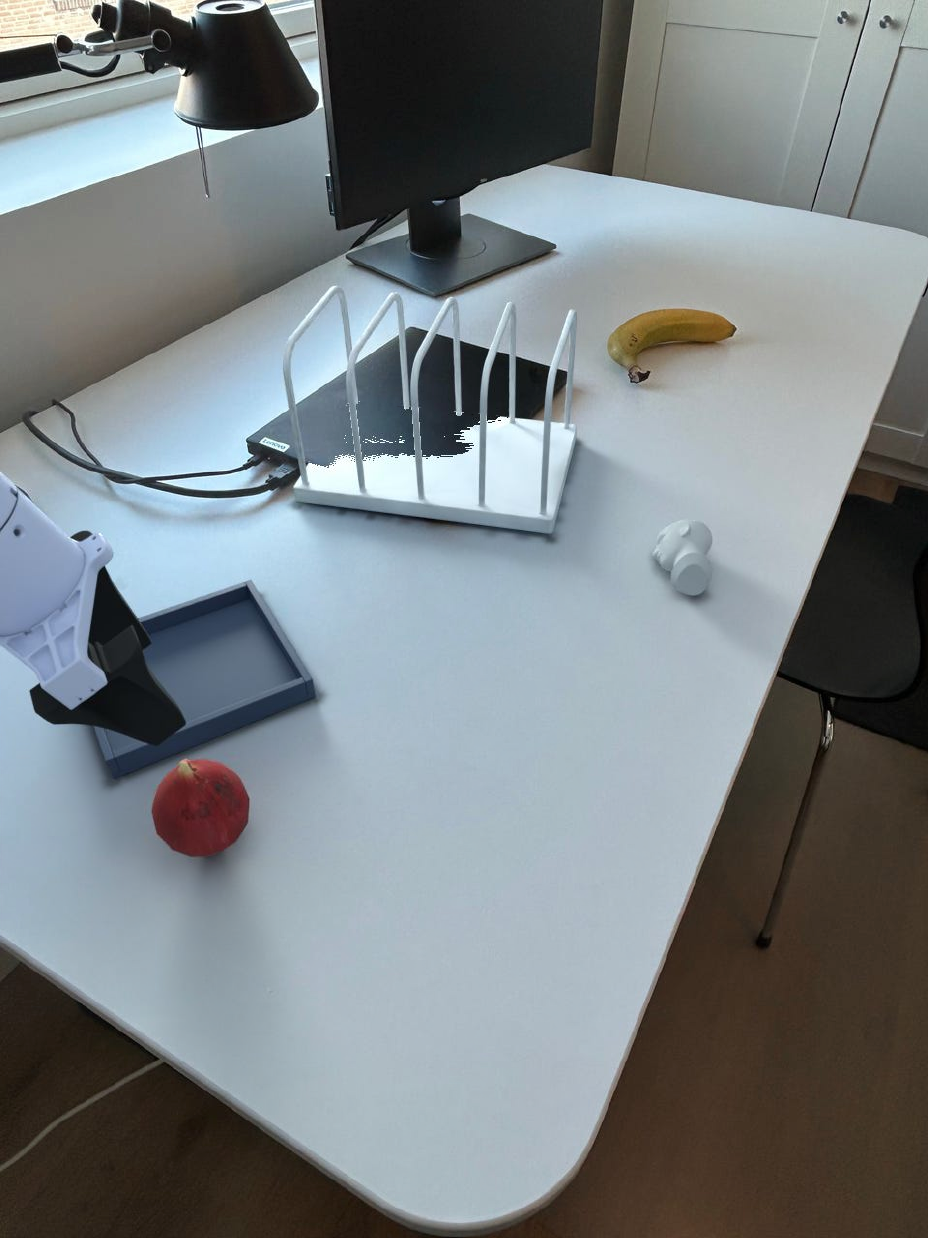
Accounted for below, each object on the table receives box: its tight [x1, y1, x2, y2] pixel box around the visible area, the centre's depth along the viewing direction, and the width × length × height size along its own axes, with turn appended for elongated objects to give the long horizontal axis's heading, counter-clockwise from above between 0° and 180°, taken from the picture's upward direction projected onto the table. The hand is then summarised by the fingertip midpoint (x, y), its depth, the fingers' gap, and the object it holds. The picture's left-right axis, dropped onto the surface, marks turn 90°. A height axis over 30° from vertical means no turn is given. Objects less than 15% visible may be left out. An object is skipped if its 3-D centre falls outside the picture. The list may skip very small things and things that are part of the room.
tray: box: [92, 579, 317, 779], centre depth 67 cm, size 15×13×2 cm
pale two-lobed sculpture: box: [652, 518, 713, 596], centre depth 76 cm, size 4×8×5 cm
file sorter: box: [282, 285, 578, 534], centre depth 83 cm, size 25×17×16 cm
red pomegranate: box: [150, 758, 251, 858], centre depth 55 cm, size 6×6×8 cm
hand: (152, 689), depth 49 cm, fingers open, 7 cm apart
